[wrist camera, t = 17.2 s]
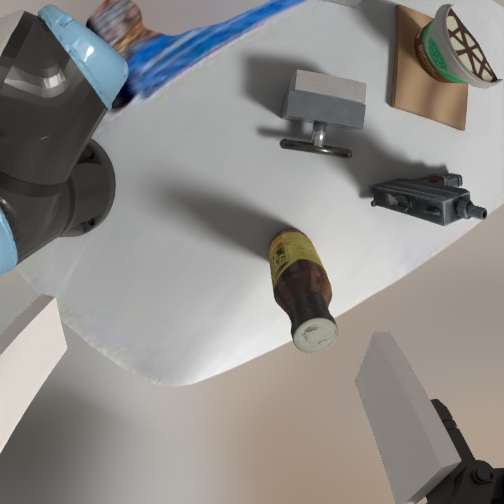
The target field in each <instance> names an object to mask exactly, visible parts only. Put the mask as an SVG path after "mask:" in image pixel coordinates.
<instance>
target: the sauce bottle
mask: <svg viewBox="0 0 504 504" xmlns="http://www.w3.org/2000/svg"><path fill="white" fill-rule="evenodd" d="M269 261H270V269H271V278H272V284H273V292H274V298H275V301H276V302H277V304H278V305H279V306H280V307H281V308H282V309H283V310H284V311H285V312H286V313H287V314H288V316H289V318H290V320H291V323H292V327H291V335H292V339H293V342H294V344H295V346H296V347H297V348H298V349H299V350H301V351H303V352H306V353H319V352H321V351H324V350H326V349H328V348H329V347H330V346H331V345H333V343H334V342H335V341H336V339H337V333H338V328H337V325H336V322H335V320H334V318H333V316H332V315H331V314H330V312H329V310H328V306H329V304H330V301H331V298H332V290H331V285H330V282H329V280H328V277H327V273H326V271H325V269H324V267H323V265H322V263H321V261H320V258H319V256H318V254H317V252H316V250H315V248H314V246H313V244H312V242H311V240H310V239H309V238H308V237H307V236H306V235H305V234H304V233H302V232H300V231H297V230H292V229H289V230H284V231H282V232H280V233H279V234H277V235H276V236H275V237H274V239H273V240H272V242H271V244H270V248H269Z"/></svg>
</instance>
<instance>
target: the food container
mask: <svg viewBox="0 0 504 504" xmlns="http://www.w3.org/2000/svg"><path fill="white" fill-rule="evenodd" d="M453 5H454V4H453ZM453 5H450V4H446V5H442V6H441V7H440V8H439V9H438V11H437V13H436V15H435V18H434V19H433V20H432V21H431V22H429V23H428V24H427V25H426V26H424V27H423V28H422V29H421V30H420V31H418V33H417V35H416V37H415V42H414V49H415V54H416V57H417V59H418V61H419V64H420V65H421V67H422V68H423V69H424V71H425V72H426V73H427V74H428V75H429V76H431V77H432V78H433V79H435V80H437V81H439V82H442V83H468V84H470V85H472V86H474V87H477V88H483V89H484V88H489V87H492V86H494V85H497V84H498V83H500V82H501V81H502V80H503V79H497V77H496V75H495V73H494V72H493V70H492V69H491V67H490V65H489V63H488V62H487V60H486V58H485V56H484V54H483V52H482V50H481V48H480V46H479V44H478V42H477V41H476V40H475V38H474V37H473V36H472V35H471V33H470V32H469V31H468V30H467V29H466V27H465V26H464V25H463V23H462V22H461V21H460V19H459V18H458V17H457V15H456V14H455V13H454V11H453V10H452V9H451V7H452V6H453Z"/></svg>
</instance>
